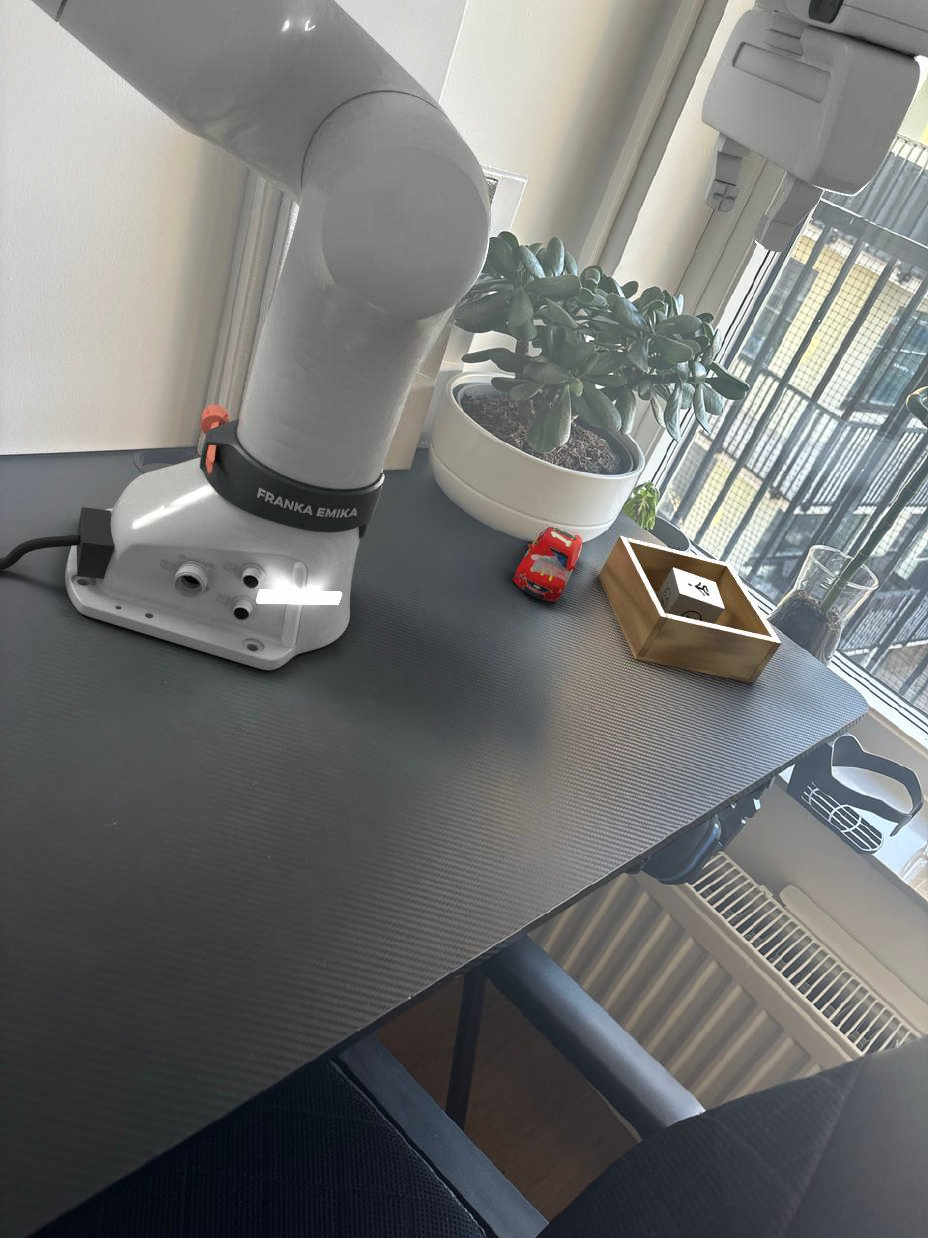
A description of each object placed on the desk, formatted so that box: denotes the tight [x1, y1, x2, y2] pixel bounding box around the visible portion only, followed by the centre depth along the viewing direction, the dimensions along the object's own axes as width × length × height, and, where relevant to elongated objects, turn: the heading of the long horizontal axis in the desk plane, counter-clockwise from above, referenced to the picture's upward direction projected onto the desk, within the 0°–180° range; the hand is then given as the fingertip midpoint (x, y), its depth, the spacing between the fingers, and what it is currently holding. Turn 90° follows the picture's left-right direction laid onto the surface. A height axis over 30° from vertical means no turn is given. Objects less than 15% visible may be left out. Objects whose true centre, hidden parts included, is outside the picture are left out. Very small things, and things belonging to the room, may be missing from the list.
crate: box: [597, 535, 783, 684], centre depth 98 cm, size 14×14×5 cm
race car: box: [512, 527, 583, 603], centre depth 98 cm, size 13×5×4 cm, turn 161°
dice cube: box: [656, 567, 725, 624], centre depth 98 cm, size 5×5×5 cm
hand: (740, 226), depth 66 cm, fingers open, 8 cm apart
